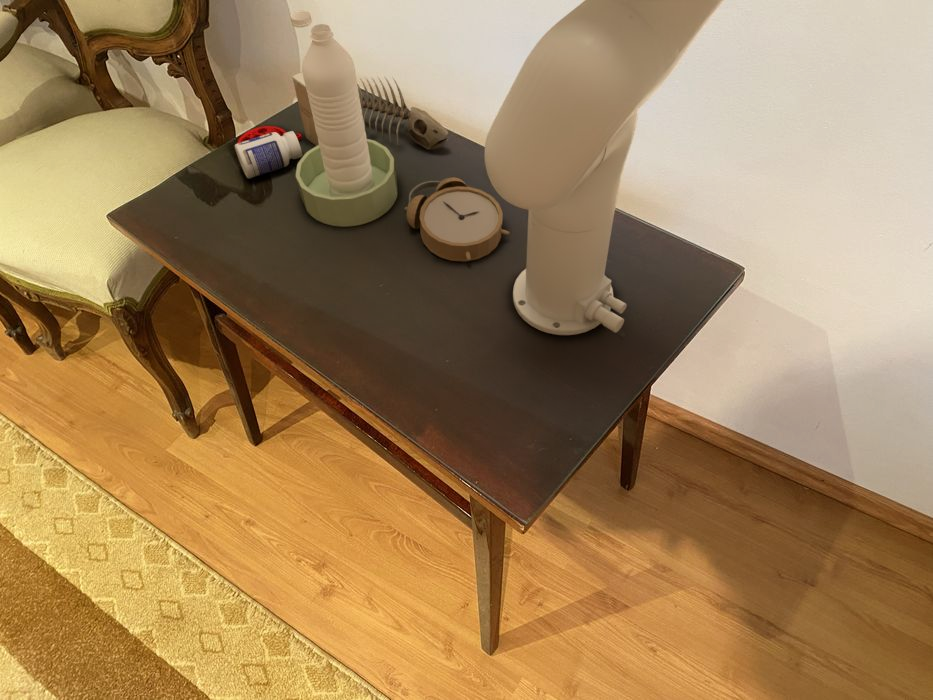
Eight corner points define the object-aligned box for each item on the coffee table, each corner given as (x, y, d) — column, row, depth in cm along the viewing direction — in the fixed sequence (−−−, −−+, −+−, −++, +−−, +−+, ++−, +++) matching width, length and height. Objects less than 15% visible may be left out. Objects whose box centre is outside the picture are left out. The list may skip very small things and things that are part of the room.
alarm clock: (459, 260, 94) (386, 190, 99) (456, 283, 99) (386, 214, 104) (521, 219, 99) (448, 154, 104) (516, 242, 103) (446, 179, 108)
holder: (417, 191, 108) (414, 163, 104) (346, 240, 102) (340, 213, 98) (354, 153, 114) (349, 125, 110) (284, 198, 108) (276, 170, 104)
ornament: (236, 131, 117) (298, 120, 119) (237, 134, 118) (299, 123, 119) (238, 161, 113) (303, 149, 114) (239, 164, 113) (304, 153, 114)
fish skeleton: (438, 163, 111) (437, 103, 104) (294, 111, 121) (284, 52, 113) (457, 146, 114) (458, 86, 107) (316, 96, 124) (307, 38, 117)
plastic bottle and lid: (384, 193, 106) (358, 27, 87) (348, 214, 104) (313, 48, 84) (349, 166, 110) (316, 2, 91) (313, 186, 108) (272, 21, 88)
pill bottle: (250, 186, 110) (306, 168, 113) (242, 162, 106) (301, 144, 108) (238, 161, 113) (294, 143, 115) (231, 136, 108) (288, 119, 110)
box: (305, 138, 117) (289, 74, 108) (327, 127, 118) (313, 63, 110) (325, 153, 114) (310, 89, 105) (347, 141, 116) (334, 77, 107)
